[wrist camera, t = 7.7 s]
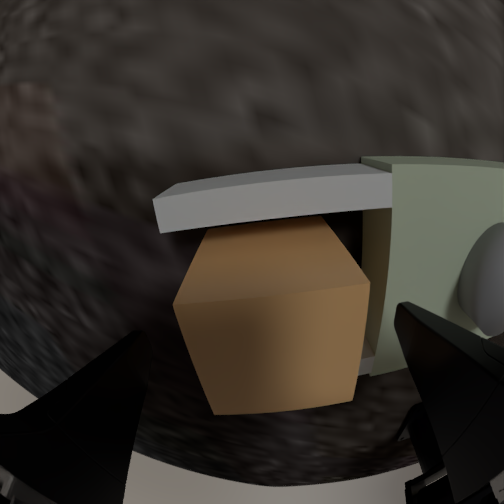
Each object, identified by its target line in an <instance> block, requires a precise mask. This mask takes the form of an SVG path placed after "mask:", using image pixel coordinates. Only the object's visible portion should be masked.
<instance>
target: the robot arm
mask: <svg viewBox="0 0 504 504" xmlns="http://www.w3.org/2000/svg"><path fill="white" fill-rule="evenodd" d="M394 328H395V331H396V334H397V337H398V340H399V343H400V346H401V349H402V352H403V355H404V358H405V361H406V364H407V366H408V368H409V371H410V373H411V375H412V377H413V380H414V382H415V384H416V387H417V389H418V392H419V394H420V397H421V399H422V402H423V403H422V404H419V405H416V406H415V407H414V408H413V409H412V410H411V412H410V414H409V416H408V418H407V420H406V422H405V424H404V425H403V427H402V429H401V431H400V432H399V434H398V436H397V440H398V441H401V440H404V439H407V438H410V439H411V441H412V444H413V447H414V449H415V452H416V455H417V458H418V461H419V464H420V466H421V469H422V472H423V474H422V475H420V476H418V477H416V478H414V479H413V480H409V481H407V482H405V488H406V489H405V496H406V504H504V347H502V346H499V345H497V344H495V343H493V342H491V341H489V340H487V339H485V338H483V337H481V336H479V335H477V334H475V333H473V332H471V331H469V330H467V329H465V328H463V327H461V326H459V325H457V324H455V323H453V322H451V321H449V320H446V319H444V318H442V317H440V316H438V315H436V314H434V313H432V312H430V311H428V310H426V309H424V308H422V307H420V306H417V305H415V304H413V303H411V302H409V301H405V302H400V303H398V304H397V307H396V312H395V317H394ZM151 358H152V347H151V345H150V342H149V340H148V338H147V335H146V333H145V332H144V331H142V330H135V331H132V332H131V333H129V334H128V335H127V336H125V337H124V338H123V339H121V340H120V341H118V342H117V343H116V344H114V345H113V346H112V347H110V348H109V349H107V350H106V351H105V352H103V353H102V354H101V355H99V356H98V357H97V358H95V359H94V360H92V361H91V362H90V363H88V364H87V365H86V366H84V367H83V368H82V369H80V370H79V371H78V372H76V373H75V374H73V375H72V376H71V377H69V378H68V380H65V381H64V382H63V383H61V384H60V385H58V386H57V387H56V388H54V389H53V390H51V391H50V392H48V393H47V394H45V395H44V396H42V397H41V398H39V399H37V400H36V401H34V402H33V403H31V404H29V405H28V406H26V407H25V408H23V409H21V410H19V411H18V412H15V413H12V414H0V504H123V499H124V493H125V486H126V485H125V484H126V480H127V474H128V469H129V464H130V459H131V454H132V450H133V445H134V440H135V436H136V431H137V427H138V423H139V418H140V414H141V410H142V406H143V402H144V398H145V394H146V390H147V385H148V378H149V372H150V365H151ZM445 474H447V475H445ZM444 475H445V476H444ZM442 476H444V477H442ZM440 477H442V478H440ZM438 478H440V479H439V480H437V479H438ZM435 480H437V481H435ZM433 481H435V482H433ZM431 482H433V483H431ZM429 483H431V484H429ZM427 484H429V485H427ZM426 485H427V486H426Z"/></svg>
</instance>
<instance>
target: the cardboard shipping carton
mask: <svg viewBox="0 0 504 504" xmlns="http://www.w3.org/2000/svg"><path fill="white" fill-rule="evenodd" d="M369 293H370V281H369V280H368V278H367V277H366V276H365V274H364V273H363V271H362V270H361V269H360V267H359V266H358V264H357V263H356V262H355V260H354V259H353V257H352V256H351V255H350V253H349V252H348V251H347V249H346V248H345V247H344V245H343V244H342V243H341V241H340V240H339V239H338V237H337V236H336V235H335V233H334V232H333V231H332V229H331V228H330V227H329V225H328V224H327V223H326V222H325V220H324V219H323V218H322V216H321V215H320V216H311V217H301V218H292V219H283V220H274V221H266V222H257V223H249V224H241V225H233V226H225V227H217V228H210V229H208V230H207V232H206V234H205V236H204V238H203V240H202V242H201V244H200V246H199V248H198V250H197V252H196V255H195V257H194V259H193V261H192V263H191V265H190V267H189V269H188V272H187V274H186V276H185V278H184V280H183V282H182V285H181V287H180V289H179V291H178V293H177V296H176V298H175V300H174V302H173V308H174V311H175V314H176V317H177V320H178V323H179V326H180V329H181V332H182V335H183V338H184V340H185V343H186V346H187V349H188V351H189V354H190V357H191V359H192V362H193V365H194V367H195V370H196V372H197V375H198V377H199V380H200V382H201V385H202V387H203V390H204V392H205V395H206V397H207V399H208V402H209V404H210V406H211V409H212V411H213V413H214V415H235V414H256V413H270V412H281V411H290V410H299V409H306V408H313V407H320V406H326V405H332V404H337V403H343V402H348V401H352V400H353V396H354V391H355V386H356V381H357V376H358V371H359V366H360V360H361V354H362V348H363V342H364V335H365V328H366V320H367V312H368V303H369Z"/></svg>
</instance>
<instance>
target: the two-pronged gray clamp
mask: <svg viewBox="0 0 504 504" xmlns="http://www.w3.org/2000/svg"><path fill="white" fill-rule="evenodd" d="M153 204H154V208H155V213H156V217H157V222H158V226H159V230H160V233H165V232H172V231H179V230H187V229H194V228H201V227H209V226H216V225H224V224H232V223H240V222H248V221H257V220H265V219H274V218H283V217H293V216H302V215H312V214H322V213H332V212H343V211H354V210H363V240H362V267H361V270H362V271H363V273H364V274H365V276H366V277H367V278H368V280H369V281H370V293H369V303H368V312H367V320H366V328H365V335H364V342H363V348H362V354H361V360H360V366H359V371H358V376H359V375H363V374H368V373H369V375H370V377H371V376H375V375H379V374H383V373H387V372H391V371H395V370H399V369H402V368H406V367H408V366H407V364H406V361H405V358H404V355H403V352H402V349H401V346H400V343H399V340H398V337H397V334H396V331H395V328H394V317H395V312H396V307H397V304H398V303H400V302H405V301H409V302H411V303H413V304H415V305H417V306H420V307H422V308H424V309H426V310H428V311H430V312H432V313H434V314H436V315H438V316H440V317H442V318H444V319H446V320H449V321H451V322H453V323H455V324H457V325H459V326H461V327H463V328H465V329H467V330H469V331H471V332H473V333H475V334H477V335H479V336H481V337H483V338H485V339H488V338H490V337H492V336H496V335H499V334H501V333H503V332H504V163H503V162H495V161H485V160H475V159H462V158H446V157H420V156H368V157H361V163H360V164H339V165H323V166H310V167H298V168H287V169H277V170H268V171H259V172H251V173H243V174H235V175H228V176H221V177H214V178H208V179H202V180H196V181H190V182H184V183H178V184H175V185H174V186H172V187H171V188H169V189H168V190H166V191H164V192H163V193H161V194H160V195H158V196H157V197H155V198H154V199H153Z"/></svg>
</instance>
